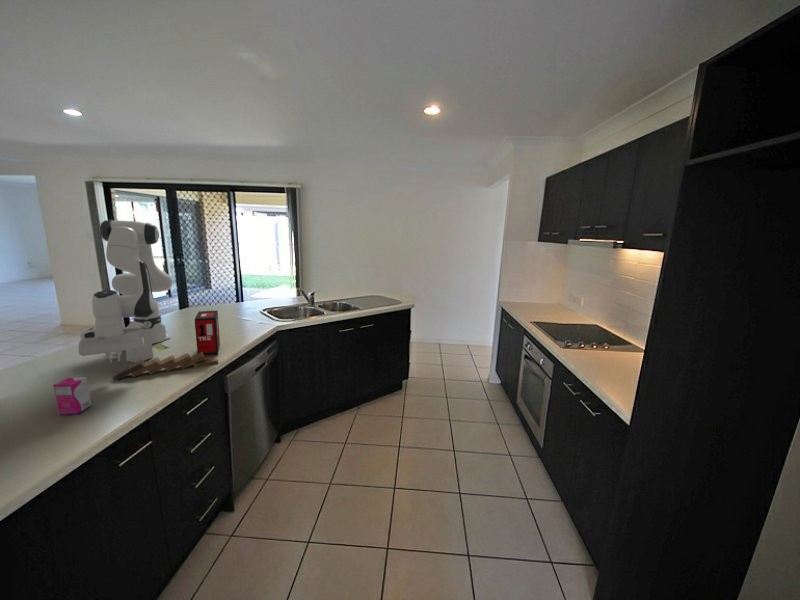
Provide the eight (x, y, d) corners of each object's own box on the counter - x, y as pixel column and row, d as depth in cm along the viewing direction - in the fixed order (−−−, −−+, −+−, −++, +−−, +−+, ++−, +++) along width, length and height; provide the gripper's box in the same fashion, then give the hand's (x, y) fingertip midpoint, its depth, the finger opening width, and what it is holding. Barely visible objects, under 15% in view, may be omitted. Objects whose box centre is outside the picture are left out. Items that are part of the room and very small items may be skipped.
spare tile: (113, 376, 131) (140, 363, 136) (115, 371, 135) (141, 359, 140) (117, 380, 132) (143, 367, 137) (119, 375, 136) (144, 363, 141)
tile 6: (193, 364, 147) (217, 360, 153) (193, 360, 151) (216, 356, 157) (193, 368, 148) (218, 364, 153) (193, 364, 152) (217, 360, 157)
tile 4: (164, 368, 141) (188, 356, 145) (164, 364, 145) (187, 352, 149) (167, 372, 142) (190, 359, 146) (167, 368, 146) (190, 356, 150)
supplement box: (74, 406, 112) (69, 376, 110) (92, 406, 113) (87, 376, 110) (58, 415, 106) (52, 384, 104) (77, 415, 107) (71, 384, 105)
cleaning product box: (201, 346, 174) (198, 311, 170) (219, 344, 178) (217, 310, 174) (197, 356, 160) (194, 319, 156) (217, 354, 164) (215, 317, 160)
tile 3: (147, 370, 138) (172, 358, 142) (148, 366, 142) (172, 355, 146) (150, 374, 138) (175, 362, 143) (151, 370, 142) (175, 358, 147)
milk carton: (139, 363, 150) (134, 324, 146) (127, 361, 151) (121, 323, 147) (153, 357, 156) (149, 321, 153) (141, 356, 158) (137, 319, 154)
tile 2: (130, 373, 134) (156, 361, 139) (132, 369, 138) (157, 357, 143) (133, 377, 135) (159, 364, 140) (135, 373, 139) (160, 361, 144)
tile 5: (179, 365, 144) (203, 354, 149) (179, 361, 148) (202, 351, 153) (181, 369, 145) (205, 358, 150) (181, 365, 149) (204, 355, 154)
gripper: (143, 325, 138) (147, 354, 141) (78, 331, 127) (84, 363, 130) (142, 328, 133) (146, 359, 136) (74, 335, 122) (80, 368, 124)
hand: (115, 361), depth 133 cm, fingers closed
